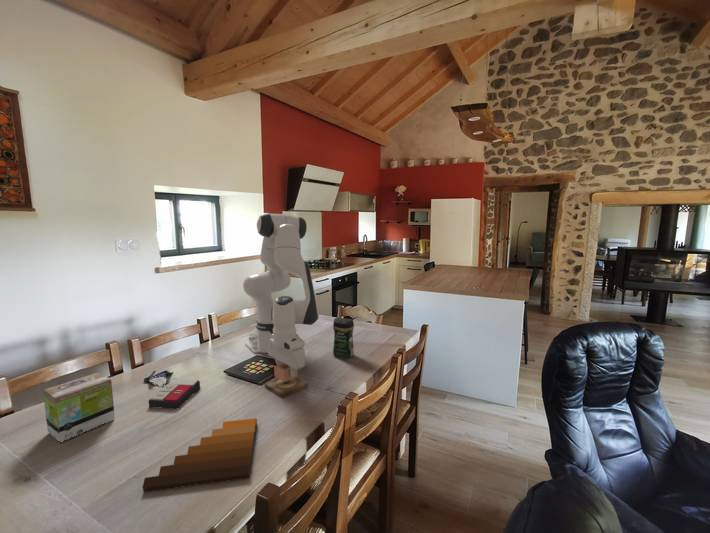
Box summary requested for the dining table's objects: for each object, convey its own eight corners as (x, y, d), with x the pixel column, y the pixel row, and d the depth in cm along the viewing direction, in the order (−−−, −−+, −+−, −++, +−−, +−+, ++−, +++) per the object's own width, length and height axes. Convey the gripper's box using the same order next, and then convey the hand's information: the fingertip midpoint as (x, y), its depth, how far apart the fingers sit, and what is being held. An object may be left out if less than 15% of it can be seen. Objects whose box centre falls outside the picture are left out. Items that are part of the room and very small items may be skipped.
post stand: (264, 386, 140) (264, 367, 139) (290, 376, 148) (289, 358, 147) (282, 397, 132) (281, 377, 130) (308, 386, 140) (307, 367, 139)
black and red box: (147, 398, 125) (173, 377, 139) (148, 409, 126) (174, 387, 140) (176, 400, 124) (199, 378, 138) (178, 411, 124) (200, 388, 139)
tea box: (60, 444, 105) (54, 398, 103) (47, 433, 110) (41, 389, 108) (116, 419, 118) (111, 378, 116) (102, 411, 123) (97, 370, 121)
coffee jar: (330, 356, 169) (330, 319, 166) (339, 351, 176) (338, 314, 173) (348, 360, 165) (348, 322, 162) (356, 354, 171) (356, 317, 169)
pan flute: (143, 495, 87) (248, 481, 92) (141, 483, 86) (248, 469, 91) (174, 433, 111) (256, 424, 116) (173, 423, 111) (256, 415, 115)
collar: (274, 376, 139) (274, 366, 139) (288, 371, 144) (287, 361, 143) (283, 382, 135) (283, 371, 134) (297, 376, 139) (297, 365, 139)
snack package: (139, 392, 137) (173, 386, 141) (138, 375, 137) (172, 370, 141) (146, 383, 148) (177, 378, 152) (145, 368, 148) (176, 363, 152)
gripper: (263, 334, 142) (264, 367, 144) (293, 348, 128) (294, 383, 130) (276, 330, 146) (277, 362, 149) (307, 343, 132) (308, 378, 134)
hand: (286, 372), depth 139 cm, fingers closed on collar, 6 cm apart
